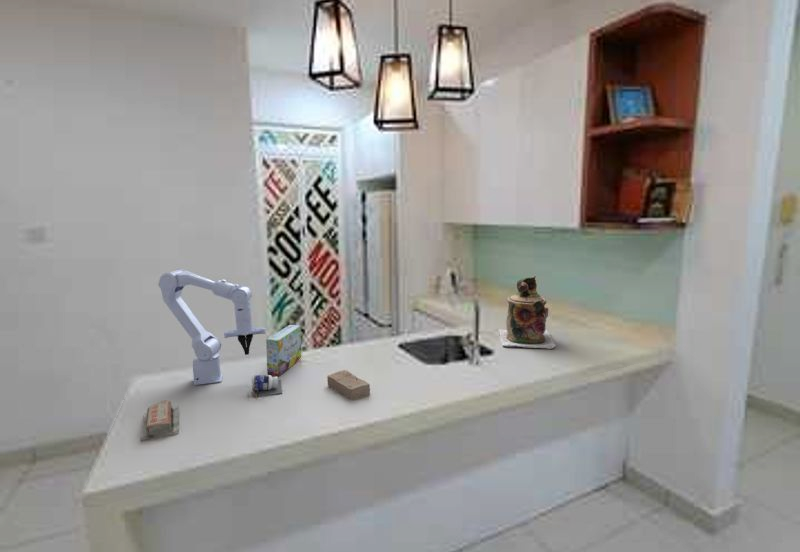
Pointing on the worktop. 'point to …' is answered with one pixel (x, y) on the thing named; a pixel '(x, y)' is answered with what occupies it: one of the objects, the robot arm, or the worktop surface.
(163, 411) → the packaged product
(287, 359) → the snack box
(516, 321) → the cookie jar
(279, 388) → the rubber mat
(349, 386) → the brick
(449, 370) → the worktop surface
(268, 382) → the pill bottle
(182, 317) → the robot arm
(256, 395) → the walnut strip
